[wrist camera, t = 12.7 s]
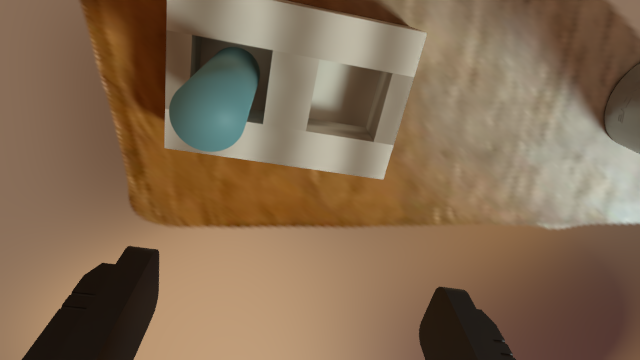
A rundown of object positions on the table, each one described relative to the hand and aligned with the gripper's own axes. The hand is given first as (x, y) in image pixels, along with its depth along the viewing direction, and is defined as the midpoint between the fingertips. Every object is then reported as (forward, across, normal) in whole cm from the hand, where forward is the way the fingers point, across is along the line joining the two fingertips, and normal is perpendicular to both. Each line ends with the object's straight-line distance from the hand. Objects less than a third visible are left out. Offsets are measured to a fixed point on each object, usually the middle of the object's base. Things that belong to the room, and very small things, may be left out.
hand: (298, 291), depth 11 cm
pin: (+24, +5, 0) cm, 24 cm away
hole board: (+25, +1, 0) cm, 25 cm away
